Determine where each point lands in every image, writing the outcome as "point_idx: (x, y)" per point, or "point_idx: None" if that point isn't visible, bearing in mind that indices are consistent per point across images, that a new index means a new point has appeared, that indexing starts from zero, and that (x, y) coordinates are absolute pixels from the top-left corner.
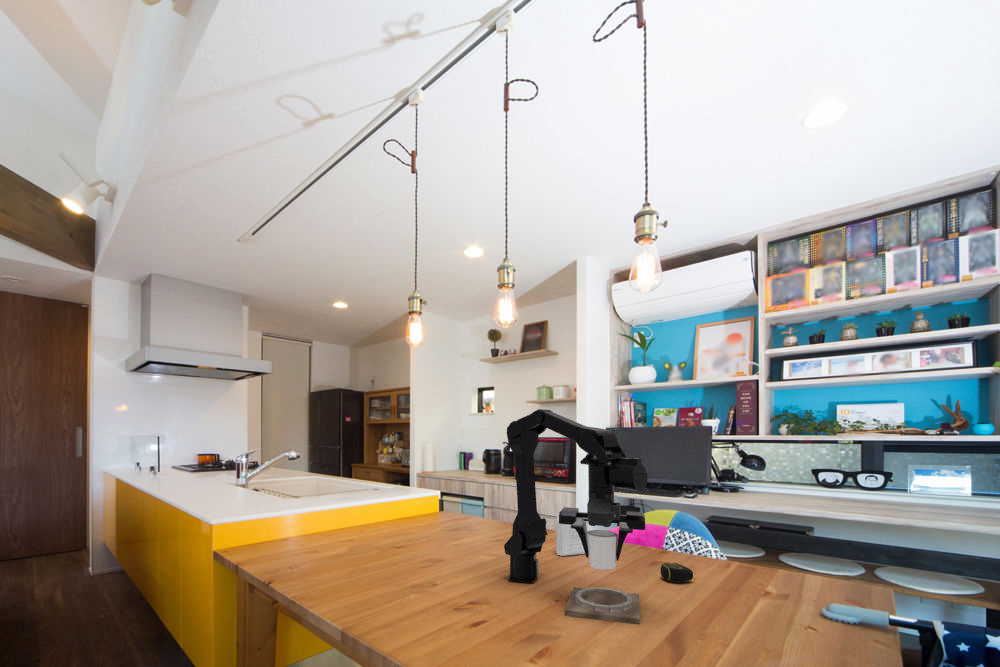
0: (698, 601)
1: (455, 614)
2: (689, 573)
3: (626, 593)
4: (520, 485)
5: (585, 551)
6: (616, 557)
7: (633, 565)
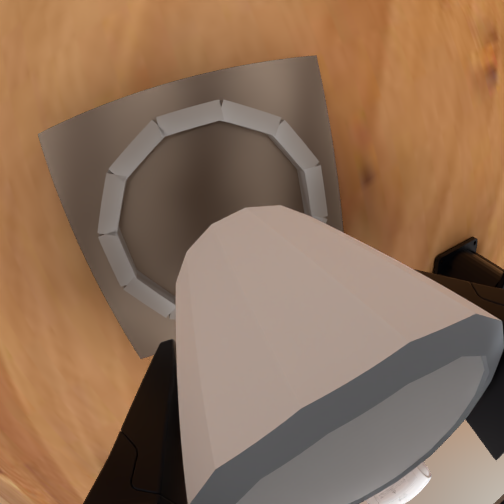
0: (25, 402)
1: (484, 6)
2: None
3: (156, 311)
4: None
5: None
6: (173, 349)
7: None
